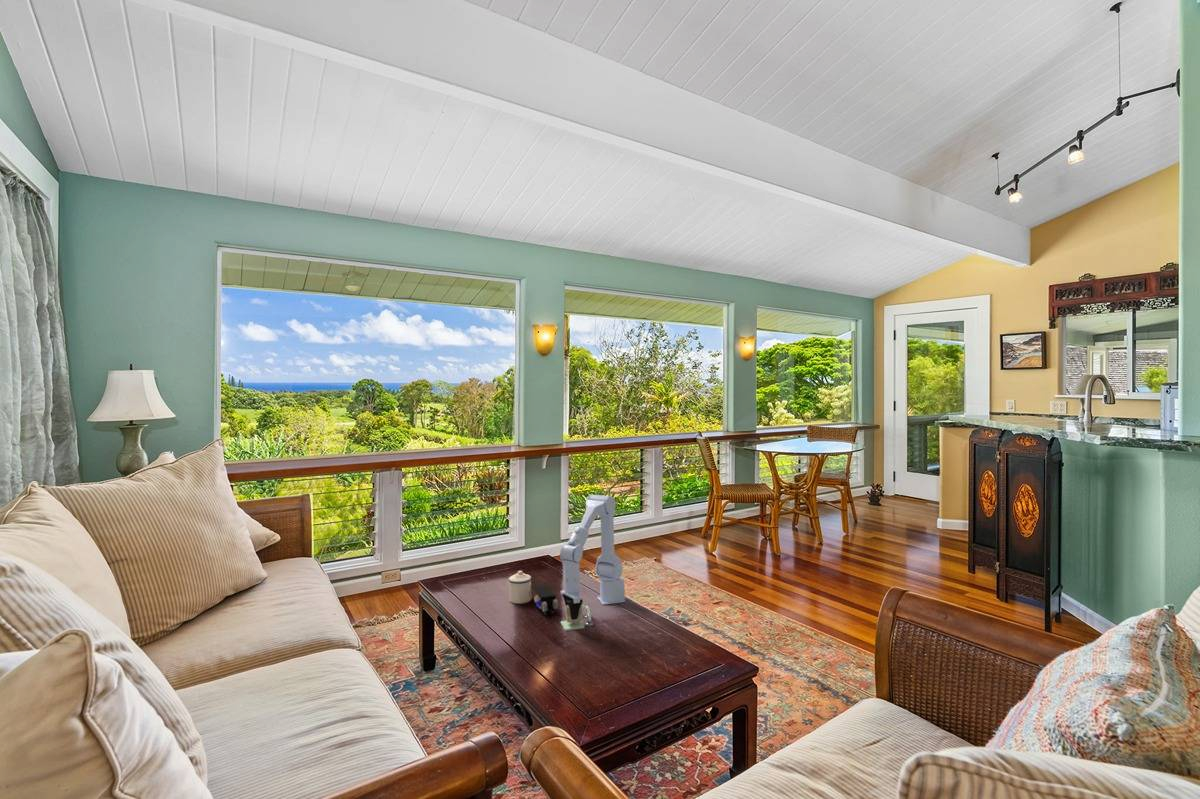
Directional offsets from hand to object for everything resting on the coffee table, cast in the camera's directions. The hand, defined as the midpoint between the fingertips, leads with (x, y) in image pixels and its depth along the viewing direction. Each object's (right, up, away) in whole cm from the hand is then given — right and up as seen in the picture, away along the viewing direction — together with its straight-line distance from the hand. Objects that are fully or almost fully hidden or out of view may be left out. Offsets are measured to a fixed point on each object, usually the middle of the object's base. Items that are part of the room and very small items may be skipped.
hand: (572, 615), depth 197 cm
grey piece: (+3, -3, +7) cm, 9 cm away
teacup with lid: (-23, -4, +26) cm, 35 cm away
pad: (0, -4, 0) cm, 3 cm away
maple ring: (+1, -2, 0) cm, 2 cm away
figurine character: (-11, -4, +15) cm, 19 cm away
